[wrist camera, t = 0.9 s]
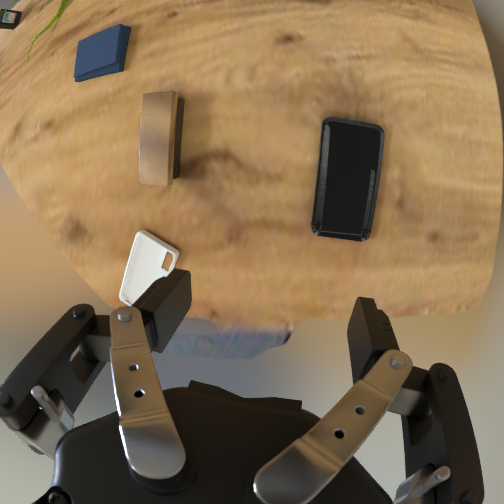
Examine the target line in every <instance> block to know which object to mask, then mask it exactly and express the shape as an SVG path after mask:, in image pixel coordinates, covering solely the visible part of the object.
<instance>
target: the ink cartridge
mask: <svg viewBox="0 0 504 504" xmlns="http://www.w3.org/2000/svg"><path fill="white" fill-rule="evenodd" d="M4 10H5V11H4ZM3 11H4V12H3ZM2 12H3V13H2ZM0 13H1V14H0V28H2V29H14V28H15V27H16V26H18V23H19V20H20V16H21V11H13V10H6V9H1V10H0Z"/></svg>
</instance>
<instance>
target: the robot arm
mask: <svg viewBox="0 0 504 504" xmlns="http://www.w3.org/2000/svg"><path fill="white" fill-rule="evenodd" d="M191 301H192V294H191V274H190V271H187V270H182V269H176V268H174V269H173V270H172V271H171V272H170V273H169V274H168V276H167V277H165V276H163V277H161V278H159V279H157V280H155V281H154V282H153V283H152V284H151V285H150V287H148V288H147V289H146V290H145V292H144V293H143V294H142V295H141V296H140V297H139V298H138V299H137V300H136V301H135V302H134V303H133V304H132V306H123V307H120V308H117V309H115V310H114V311H113V312H112V313H111V314H110V315H96V314H95V311H94V308H93V307H92V306H91V305H89V304H78V305H75V306H73V307H72V308H70V309H69V310H68V311H67V312H66V313H65V314H64V315H63V316H62V317H61V319H59V321H57V323H55V325H54V326H53V327H52V328H51V329H50V330H49V331H48V332H47V333H46V334H45V335H44V336H43V337H42V338H41V339H40V340H39V341H38V343H37V344H36V345H35V346H34V347H33V348H32V349H31V350H30V351H29V353H28V354H27V355H26V356H25V357H24V358H23V359H22V361H21V362H20V363H19V364H18V365H17V366H16V368H15V369H14V370H13V371H12V372H11V374H10V375H9V376H8V377H7V378H6V380H5V381H4V382H3V384H2V385H1V386H0V418H1V419H2V420H3V422H4V423H5V424H6V426H7V427H8V428H9V429H10V430H11V431H12V432H13V433H14V434H15V435H16V436H17V437H18V438H19V439H20V440H21V441H22V442H23V443H25V444H27V445H28V446H29V447H30V448H31V449H32V450H33V451H34V452H36V453H38V454H42V455H43V454H46V455H47V456H48V457H50V458H51V459H53V460H54V473H53V479H52V483H51V486H50V488H49V490H48V491H47V492H46V493H45V494H44V495H43V496H42V497H41V498H39V499H38V500H37V501H35V502H33V503H32V504H482V502H483V500H484V485H483V477H482V470H481V465H480V459H479V453H478V449H477V444H476V439H475V436H474V431H473V427H472V423H471V420H470V416H469V412H468V409H467V405H466V402H465V399H464V396H463V393H462V390H461V387H460V384H459V381H458V378H457V376H456V373H455V371H454V370H453V369H452V368H451V367H450V366H448V365H446V364H444V363H435V364H433V365H432V366H431V368H430V369H429V371H428V370H424V369H421V368H418V367H415V366H413V363H412V360H411V358H410V357H409V356H408V355H407V354H405V353H404V352H402V351H400V349H399V347H398V343H397V340H396V337H395V335H394V332H393V329H392V326H391V323H390V320H389V318H388V316H387V315H386V314H385V313H384V312H383V311H382V310H378V309H377V307H376V304H375V301H374V299H373V298H365V297H358V298H357V300H356V302H355V306H354V309H353V312H352V315H351V318H350V321H349V324H348V329H347V337H348V344H349V351H350V359H351V368H352V376H353V387H352V388H351V389H350V390H349V391H348V392H347V393H346V394H345V395H344V397H343V398H342V399H341V400H340V401H339V402H338V403H337V404H336V405H335V406H334V407H333V408H332V409H331V410H330V411H329V412H328V413H327V414H326V415H325V416H324V417H323V418H322V419H321V418H319V417H318V416H316V415H315V414H313V413H311V412H309V411H307V410H304V409H301V407H302V406H301V405H302V401H300V400H292V399H284V398H276V397H268V398H243V397H240V396H238V395H235V394H233V393H231V392H229V391H226V390H224V389H222V388H220V387H218V386H213V385H209V384H204V383H201V382H197V381H193V380H191V382H190V384H189V386H188V387H177V388H171V389H166V390H163V391H162V388H161V385H160V382H159V379H158V375H157V372H156V369H155V365H154V362H153V358H152V355H151V353H152V351H155V352H158V353H162V352H163V350H164V349H165V347H166V345H167V344H168V342H169V341H170V339H171V337H172V336H173V334H174V333H175V331H176V329H177V328H178V326H179V325H180V323H181V322H182V320H183V318H184V317H185V315H186V314H187V312H188V311H189V309H190V306H191ZM77 347H79V349H80V350H79V352H78V353H77V354H76V356H75V357H74V358H73V360H72V361H71V362H70V357H71V355H72V353H73V352H74V351H75V349H76V348H77ZM107 362H111V369H112V376H113V383H114V390H115V395H116V401H117V407H118V411H116V412H113V413H111V414H109V415H106V416H104V417H102V418H99V419H96V420H94V421H91V422H89V423H86V424H83V425H81V426H78V427H75V428H73V426H74V416H73V414H74V412H75V411H76V409H77V407H78V406H79V404H80V402H81V401H82V399H83V398H84V396H85V395H86V393H87V392H88V390H89V388H90V387H91V385H92V384H93V382H94V381H95V379H96V378H97V376H98V375H99V373H100V372H101V370H102V369H103V367H104V366H105V364H106V363H107ZM386 411H389V412H393V413H396V414H400V415H401V420H402V429H403V439H404V451H405V469H406V479H405V480H404V481H403V482H402V483H401V484H400V485H399V487H398V489H397V491H396V497H395V500H394V502H393V501H392V499H391V498H390V496H389V495H388V494H387V493H386V492H385V491H384V489H383V488H382V487H381V486H380V485H379V484H378V483H377V482H376V481H375V480H374V479H373V478H372V476H371V475H370V474H369V473H368V472H367V471H366V470H365V468H364V467H363V466H362V465H361V464H360V463H359V461H358V460H357V459H356V458H355V457H354V456H353V455H354V454H355V452H356V451H357V450H358V449H359V447H360V446H361V445H362V444H363V443H364V441H365V440H366V439H367V437H368V436H369V435H370V434H371V432H372V431H373V430H374V428H375V427H376V425H377V424H378V423H379V421H380V420H381V418H382V417H383V416H384V414H385V413H386Z"/></svg>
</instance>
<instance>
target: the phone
mask: <svg viewBox="0 0 504 504" xmlns="http://www.w3.org/2000/svg"><path fill="white" fill-rule="evenodd" d="M384 137H385V134H384V130H383V129H382V128H381V127H380V126H379V125H375V124H371V123H366V122H360V121H355V120H349V119H343V118H337V117H328V118H326V119H325V120H324V121H323V122H322V126H321V139H320V150H319V161H318V171H317V181H316V190H315V199H314V207H313V215H312V223H311V227H312V231H313V233H314V234H316V235H318V236H323V237H331V238H339V239H346V240H353V241H365V240H367V239H368V238H369V236H370V232H371V227H372V222H373V217H374V211H375V206H376V200H377V193H378V187H379V180H380V173H381V165H382V157H383V147H384Z"/></svg>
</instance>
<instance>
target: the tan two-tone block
mask: <svg viewBox="0 0 504 504" xmlns="http://www.w3.org/2000/svg"><path fill="white" fill-rule="evenodd" d="M183 110H184V99H182V98H179V97H178V93H177V92H173V91H172V92H159V93H148V94H143V100H142V112H141V126H140V146H139V184H146V185H161V186H169V185H171V184H173V179H176V178H179V173H180V152H181V135H182V121H183Z"/></svg>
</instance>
